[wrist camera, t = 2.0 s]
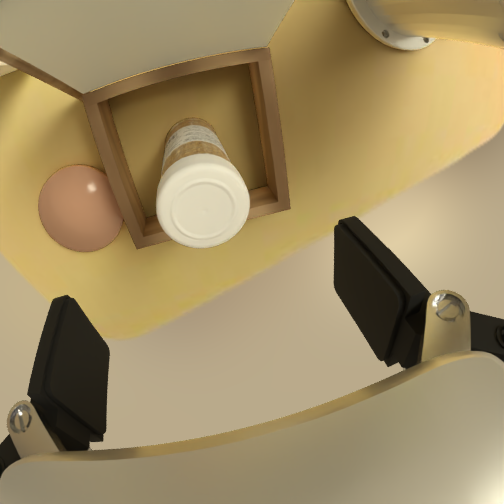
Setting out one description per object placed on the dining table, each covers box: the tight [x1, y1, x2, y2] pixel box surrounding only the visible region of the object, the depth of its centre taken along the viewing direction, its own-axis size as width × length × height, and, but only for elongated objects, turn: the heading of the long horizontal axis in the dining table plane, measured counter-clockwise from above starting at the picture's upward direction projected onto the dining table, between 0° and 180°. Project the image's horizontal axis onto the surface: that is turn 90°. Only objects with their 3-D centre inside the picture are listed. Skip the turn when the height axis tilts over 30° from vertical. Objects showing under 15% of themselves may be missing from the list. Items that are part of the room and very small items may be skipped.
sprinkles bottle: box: [156, 118, 250, 248], centre depth 19 cm, size 5×5×14 cm
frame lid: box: [0, 0, 294, 94], centre depth 11 cm, size 14×14×1 cm
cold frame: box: [0, 48, 291, 249], centre depth 18 cm, size 15×19×14 cm
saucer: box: [38, 165, 124, 252], centre depth 25 cm, size 9×9×1 cm
